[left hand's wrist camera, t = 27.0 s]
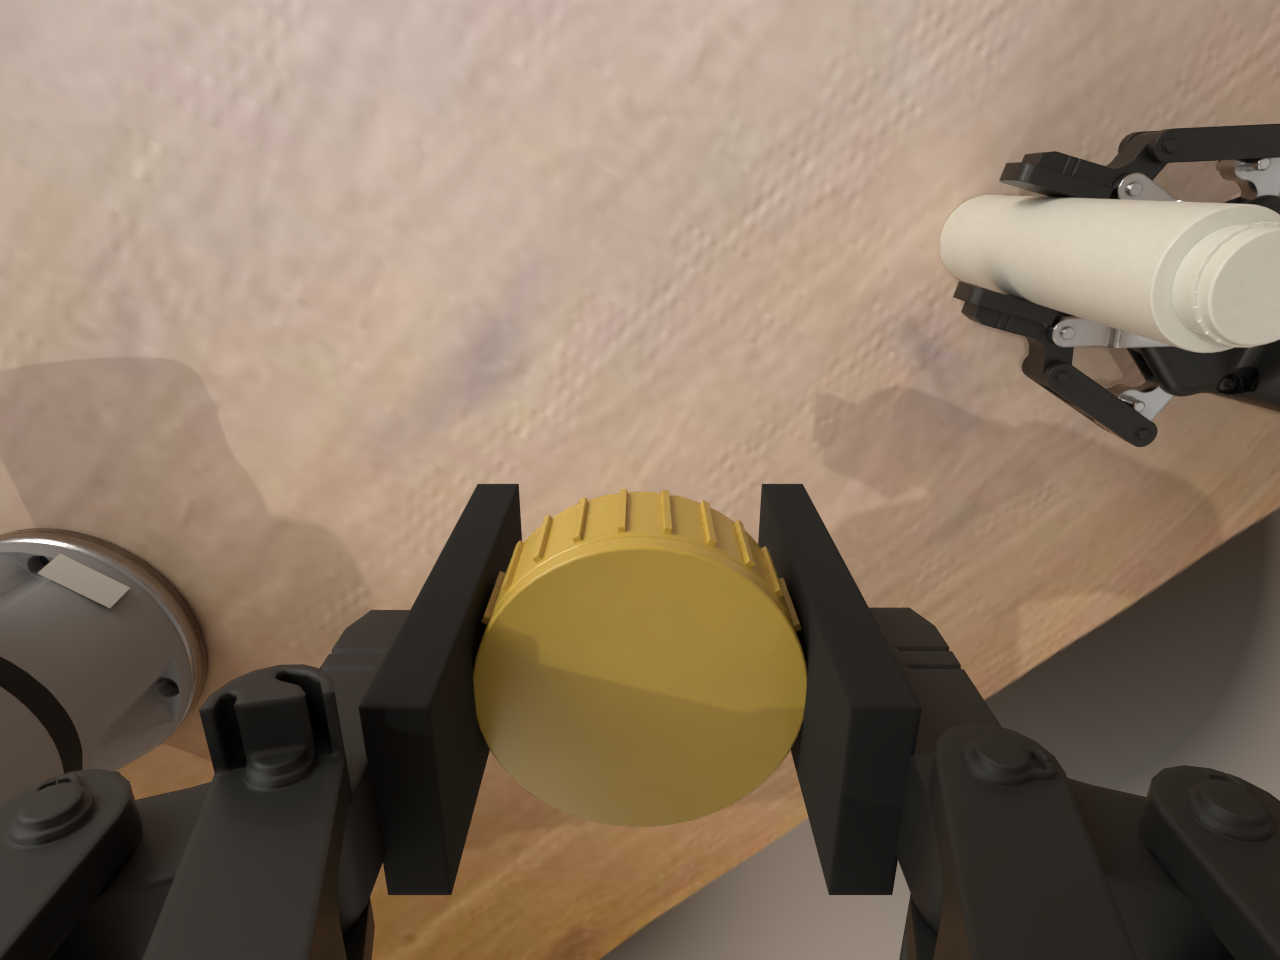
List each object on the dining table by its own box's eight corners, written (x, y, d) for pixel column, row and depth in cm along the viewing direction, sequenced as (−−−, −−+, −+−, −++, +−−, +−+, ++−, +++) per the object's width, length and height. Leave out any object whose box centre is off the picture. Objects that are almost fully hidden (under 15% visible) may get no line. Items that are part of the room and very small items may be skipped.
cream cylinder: (986, 299, 39) (1263, 393, 22) (921, 253, 39) (1155, 314, 21) (1042, 225, 38) (1385, 262, 21) (977, 177, 37) (1276, 172, 20)
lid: (835, 673, 13) (867, 754, 11) (585, 782, 13) (577, 874, 12) (705, 432, 11) (718, 480, 9) (433, 571, 12) (396, 639, 10)
